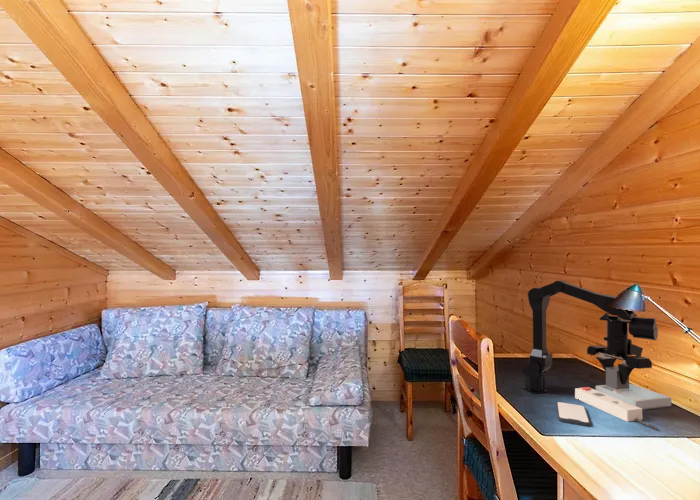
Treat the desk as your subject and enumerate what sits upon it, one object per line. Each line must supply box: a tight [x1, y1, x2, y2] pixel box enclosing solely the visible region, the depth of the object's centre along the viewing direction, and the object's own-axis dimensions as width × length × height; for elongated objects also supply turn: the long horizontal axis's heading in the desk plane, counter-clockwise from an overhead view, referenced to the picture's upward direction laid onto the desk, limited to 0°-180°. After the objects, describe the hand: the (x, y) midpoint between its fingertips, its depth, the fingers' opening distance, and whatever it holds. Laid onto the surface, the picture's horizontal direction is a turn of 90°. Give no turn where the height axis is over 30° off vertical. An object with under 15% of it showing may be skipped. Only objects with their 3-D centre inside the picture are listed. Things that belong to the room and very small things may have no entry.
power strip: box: [574, 386, 659, 431], centre depth 125 cm, size 27×6×4 cm, turn 14°
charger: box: [605, 365, 630, 393], centre depth 125 cm, size 4×5×8 cm
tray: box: [595, 382, 672, 411], centre depth 136 cm, size 16×16×3 cm
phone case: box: [555, 401, 591, 428], centre depth 123 cm, size 9×2×16 cm
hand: (617, 382), depth 125 cm, fingers closed on charger, 4 cm apart
